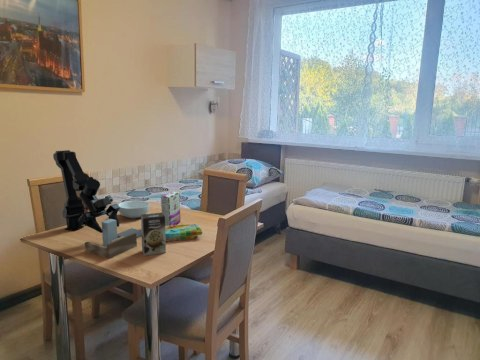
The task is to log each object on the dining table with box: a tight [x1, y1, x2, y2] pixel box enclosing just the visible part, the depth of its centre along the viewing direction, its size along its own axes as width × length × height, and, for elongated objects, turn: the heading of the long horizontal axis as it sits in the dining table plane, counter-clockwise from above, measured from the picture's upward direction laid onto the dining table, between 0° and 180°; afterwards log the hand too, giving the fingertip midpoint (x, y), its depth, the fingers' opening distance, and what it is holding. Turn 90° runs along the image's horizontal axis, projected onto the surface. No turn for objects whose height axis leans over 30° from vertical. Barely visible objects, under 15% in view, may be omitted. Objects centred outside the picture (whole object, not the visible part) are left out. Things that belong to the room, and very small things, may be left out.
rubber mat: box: [117, 227, 142, 239], centre depth 170 cm, size 11×11×1 cm
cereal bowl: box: [118, 200, 150, 219], centre depth 197 cm, size 17×17×7 cm
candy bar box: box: [160, 191, 181, 226], centre depth 183 cm, size 11×5×16 cm, turn 162°
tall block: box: [101, 218, 118, 247], centre depth 156 cm, size 4×5×11 cm
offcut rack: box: [84, 233, 138, 259], centre depth 152 cm, size 14×15×6 cm
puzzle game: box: [165, 223, 203, 242], centre depth 168 cm, size 12×5×20 cm
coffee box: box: [140, 212, 167, 256], centre depth 149 cm, size 9×6×16 cm
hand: (110, 229), depth 155 cm, fingers open, 9 cm apart
